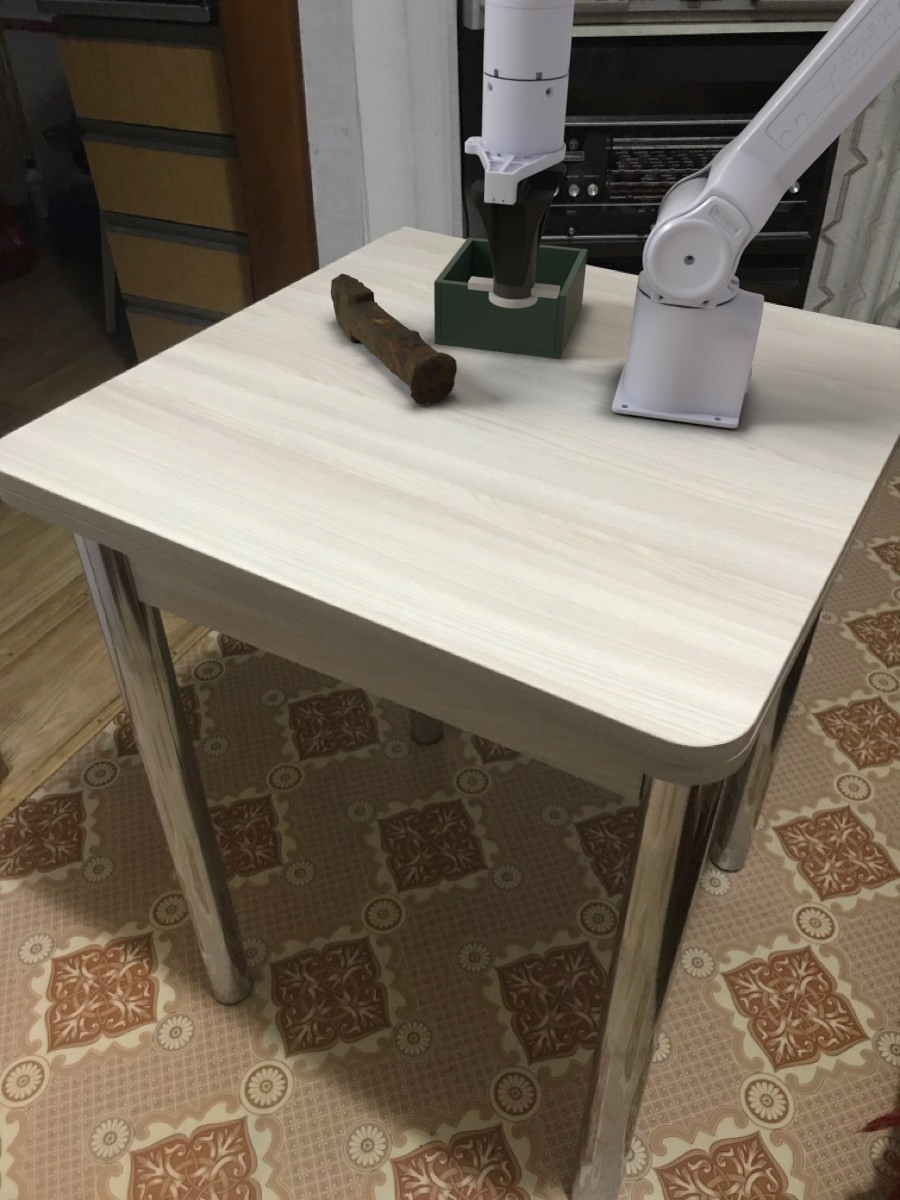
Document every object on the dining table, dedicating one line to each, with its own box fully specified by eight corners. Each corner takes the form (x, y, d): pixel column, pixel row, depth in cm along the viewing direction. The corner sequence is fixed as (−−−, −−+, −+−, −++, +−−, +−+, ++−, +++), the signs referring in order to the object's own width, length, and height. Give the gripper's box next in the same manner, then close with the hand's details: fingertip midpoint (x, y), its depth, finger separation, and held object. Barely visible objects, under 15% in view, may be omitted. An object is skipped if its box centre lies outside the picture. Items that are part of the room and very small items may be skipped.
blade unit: (561, 294, 71) (569, 201, 67) (553, 313, 69) (561, 217, 64) (475, 285, 73) (477, 193, 68) (463, 303, 70) (464, 209, 65)
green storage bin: (581, 308, 86) (587, 249, 82) (560, 359, 77) (566, 296, 74) (466, 295, 88) (467, 237, 84) (434, 343, 80) (433, 281, 76)
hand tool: (459, 399, 72) (460, 343, 69) (413, 410, 70) (412, 354, 67) (364, 313, 85) (362, 263, 82) (324, 320, 83) (320, 270, 80)
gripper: (491, 49, 67) (486, 237, 76) (439, 91, 56) (439, 305, 65) (587, 54, 65) (570, 245, 74) (552, 99, 55) (537, 316, 64)
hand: (515, 274), depth 70 cm, fingers closed on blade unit, 3 cm apart
